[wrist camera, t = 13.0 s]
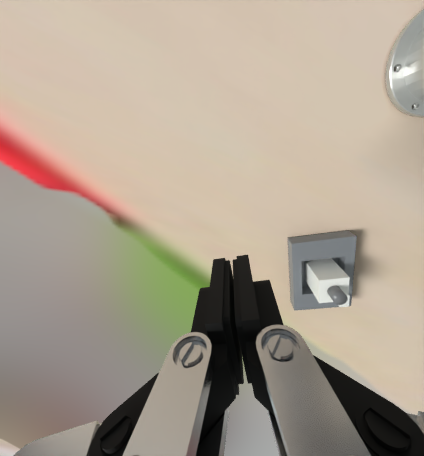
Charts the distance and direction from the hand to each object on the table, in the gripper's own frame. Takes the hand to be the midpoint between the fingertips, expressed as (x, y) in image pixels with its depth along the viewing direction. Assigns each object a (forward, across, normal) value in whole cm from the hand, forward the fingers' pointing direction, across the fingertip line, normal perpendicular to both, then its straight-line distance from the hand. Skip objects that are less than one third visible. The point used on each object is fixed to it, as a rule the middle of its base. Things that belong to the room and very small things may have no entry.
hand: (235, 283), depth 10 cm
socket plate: (+26, -13, +18) cm, 34 cm away
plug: (+25, -13, +18) cm, 33 cm away
